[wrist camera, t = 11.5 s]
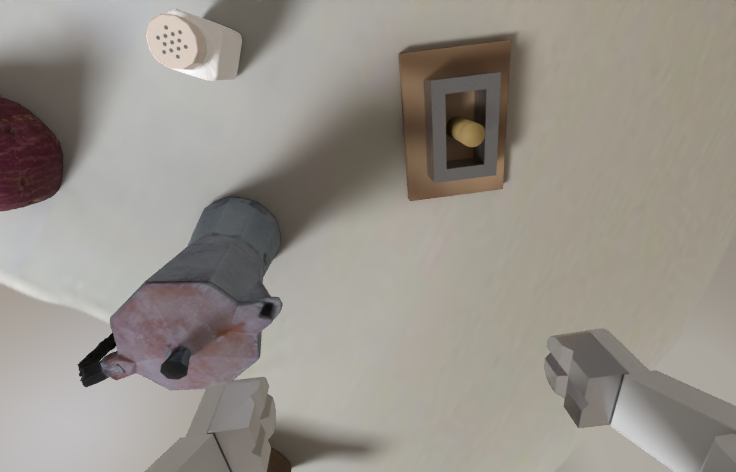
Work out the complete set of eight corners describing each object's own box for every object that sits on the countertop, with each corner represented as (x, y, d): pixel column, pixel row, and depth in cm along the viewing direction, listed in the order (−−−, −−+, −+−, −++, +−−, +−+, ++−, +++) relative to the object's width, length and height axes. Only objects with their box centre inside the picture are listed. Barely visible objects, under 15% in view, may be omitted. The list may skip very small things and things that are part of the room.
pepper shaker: (192, 67, 32) (137, 64, 23) (197, 17, 30) (140, -5, 22) (237, 81, 32) (200, 84, 24) (245, 34, 31) (208, 19, 22)
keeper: (398, 53, 32) (410, 50, 27) (505, 40, 33) (539, 34, 27) (408, 198, 38) (419, 218, 33) (498, 186, 38) (525, 204, 33)
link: (423, 80, 33) (431, 80, 30) (487, 72, 33) (501, 72, 30) (427, 174, 36) (434, 183, 34) (484, 167, 36) (496, 175, 34)
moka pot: (321, 245, 40) (305, 388, 22) (203, 295, 42) (98, 467, 24) (279, 169, 36) (218, 268, 18) (151, 228, 38) (-24, 372, 20)
